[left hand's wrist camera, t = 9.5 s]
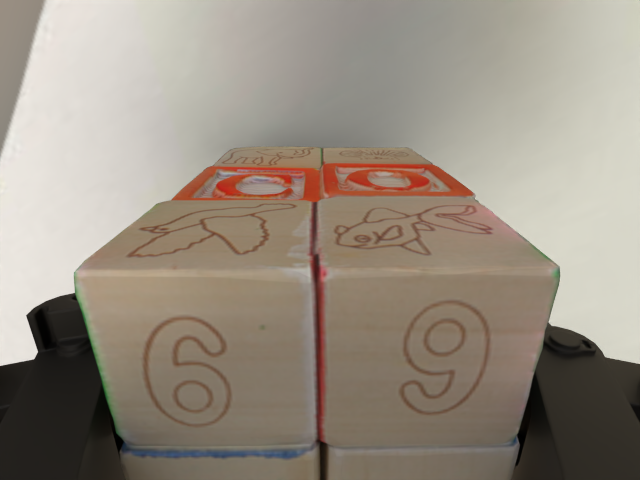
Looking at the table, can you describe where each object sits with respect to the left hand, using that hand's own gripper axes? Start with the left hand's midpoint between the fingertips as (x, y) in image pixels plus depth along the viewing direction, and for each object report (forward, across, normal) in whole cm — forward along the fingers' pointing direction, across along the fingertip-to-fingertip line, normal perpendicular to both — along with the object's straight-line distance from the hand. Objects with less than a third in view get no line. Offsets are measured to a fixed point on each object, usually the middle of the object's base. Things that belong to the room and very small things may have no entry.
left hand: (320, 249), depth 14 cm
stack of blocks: (+1, 0, -7) cm, 7 cm away
